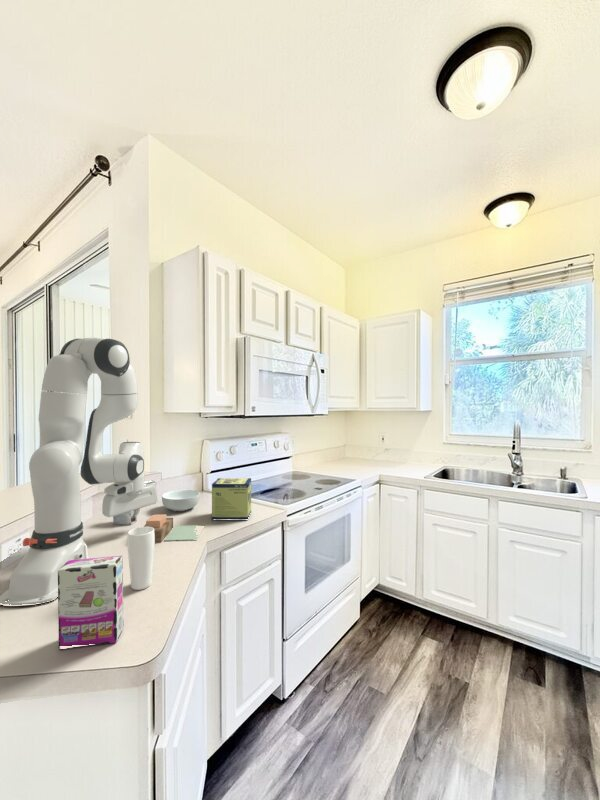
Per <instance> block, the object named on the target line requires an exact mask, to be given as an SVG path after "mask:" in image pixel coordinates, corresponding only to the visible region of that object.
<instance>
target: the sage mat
mask: <svg viewBox="0 0 600 800" xmlns="http://www.w3.org/2000/svg"><path fill="white" fill-rule="evenodd" d="M196 526H198V525H194V524H193V525H175V526H174V527H173V529H172V530H171V531H170V532H169V533H168V535H167V536H166V537H165V538H164V539H163V541H164V542H177V541H176V540H189V541H194V540H193V539H197V538H198V539H199V537H196V536H198V535H196V532H197V530H194V529H195V528H196ZM194 531H196V532H194ZM198 539H197V540H198Z"/></svg>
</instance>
